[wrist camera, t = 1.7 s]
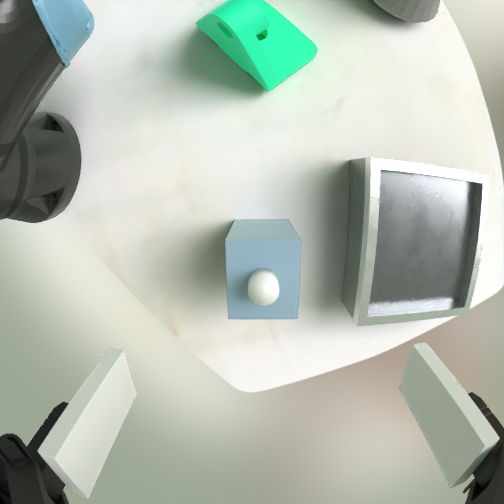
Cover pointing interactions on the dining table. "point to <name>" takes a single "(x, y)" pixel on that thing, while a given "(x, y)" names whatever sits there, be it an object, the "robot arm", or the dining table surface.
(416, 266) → the open square box
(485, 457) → the robot arm
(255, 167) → the dining table surface
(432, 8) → the coffee pot
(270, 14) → the camera mount
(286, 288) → the blue bottle
